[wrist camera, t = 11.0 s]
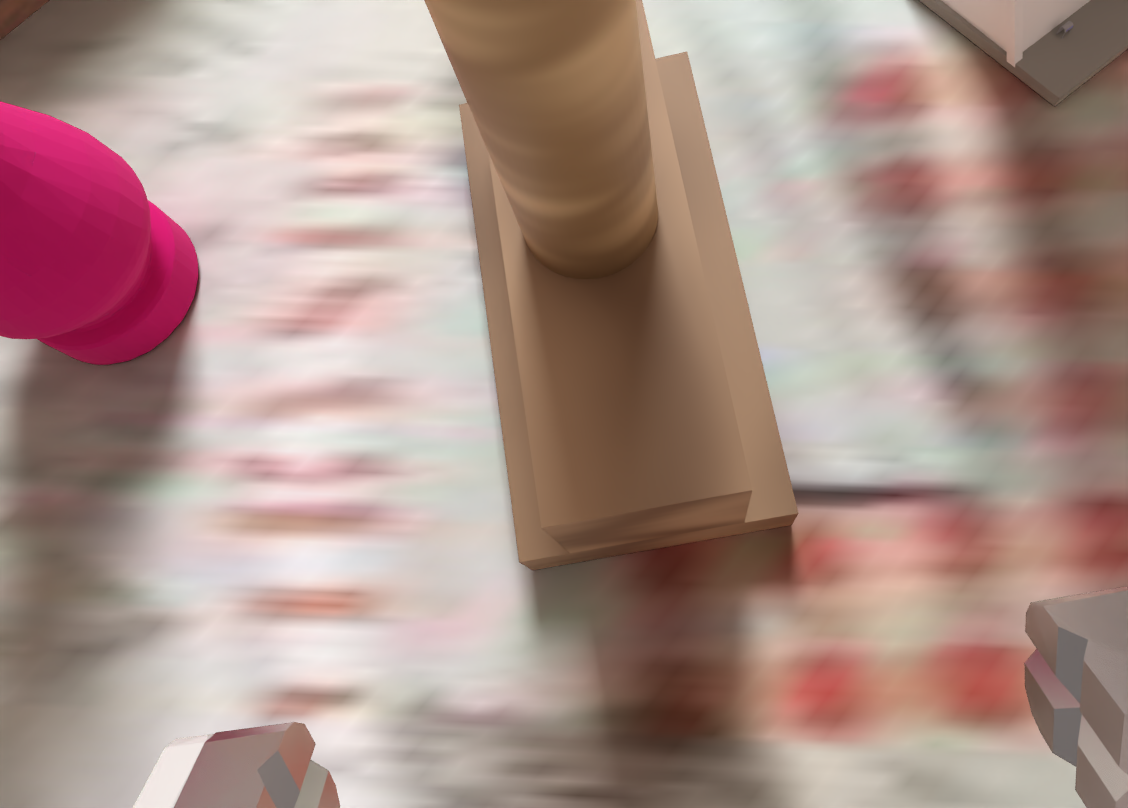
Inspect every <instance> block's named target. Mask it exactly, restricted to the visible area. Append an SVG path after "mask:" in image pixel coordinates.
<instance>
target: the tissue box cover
mask: <svg viewBox="0 0 1128 808" xmlns="http://www.w3.org/2000/svg"><path fill="white" fill-rule="evenodd" d="M48 1H49V0H0V40H1V39H2V38H4V37H5V36H6V35H7V34H9V33H10V32H11V31H12V30H13V29H15V28H16V27H17V26H18V25H20V24H21V23H22V22H23V21H25V20H26V19H27V18H28V17H30V16H31V15H32V14H33V13H34V12H36V11H37V10H38V9H39V8H41V7H42V6H43V5H44V4H46V3H47V2H48Z"/></svg>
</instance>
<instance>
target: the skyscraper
mask: <svg viewBox="0 0 1128 808" xmlns="http://www.w3.org/2000/svg"><path fill="white" fill-rule="evenodd" d="M919 1H920V2H922V3H923V4H924V5H925V6H927V7H928V8H929V9H931V10H932V11H933V12H934V13H936V14H937V15H938V16H940V17H941V18H942V19H943V20H945V21H946V22H947V23H948V24H950V25H951V26H952V27H954V28H955V29H956V30H957V31H959V32H960V33H961V34H963V35H964V36H965V37H966V38H968V39H969V40H970V41H971V42H973V43H974V44H975V45H977V46H978V47H979V48H980V49H982V50H983V51H984V52H985V53H987V54H988V55H989V56H991V57H992V58H993V59H994V60H996V61H997V62H998V63H1000V64H1001V65H1002V66H1003V67H1005V68H1006V69H1007V70H1008V71H1010V72H1011V73H1012V74H1014V75H1015V76H1016V77H1017V78H1019V79H1020V80H1021V81H1023V82H1024V83H1025V84H1026V85H1028V86H1029V87H1030V88H1031V89H1033V90H1034V91H1035V92H1037V93H1038V94H1039V95H1040V96H1042V97H1043V98H1044V99H1045V100H1047V101H1048V102H1049V103H1051V104H1052V105H1053V106H1054V107H1055V106H1056V105H1057V104H1058V103H1060V102H1061V101H1062V100H1064V99H1065V98H1066V97H1067V96H1069V95H1070V94H1071V93H1072V92H1074V91H1075V90H1076V89H1077V88H1079V87H1080V86H1081V85H1083V84H1084V83H1085V82H1086V81H1088V80H1089V79H1090V78H1091V77H1093V76H1094V75H1095V74H1097V73H1098V72H1099V71H1100V70H1102V69H1103V68H1104V67H1105V66H1107V65H1108V64H1109V63H1110V62H1112V61H1113V60H1114V59H1116V58H1117V57H1118V56H1119V55H1121V54H1122V53H1123V52H1124V51H1126V50H1127V49H1128V0H919Z"/></svg>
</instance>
